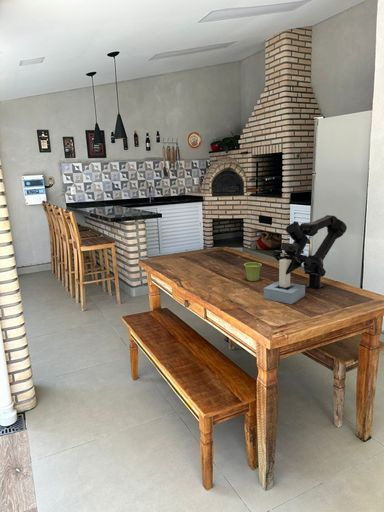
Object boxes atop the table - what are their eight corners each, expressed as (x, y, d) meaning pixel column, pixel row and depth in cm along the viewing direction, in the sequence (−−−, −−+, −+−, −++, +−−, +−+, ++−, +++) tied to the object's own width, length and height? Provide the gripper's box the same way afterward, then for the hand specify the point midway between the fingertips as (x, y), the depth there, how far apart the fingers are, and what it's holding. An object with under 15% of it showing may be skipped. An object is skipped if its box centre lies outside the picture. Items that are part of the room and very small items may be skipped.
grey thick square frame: (277, 290, 191) (277, 280, 190) (304, 295, 182) (305, 285, 181) (263, 298, 181) (263, 288, 180) (291, 304, 172) (291, 293, 171)
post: (284, 284, 183) (284, 258, 180) (290, 286, 180) (290, 259, 177) (279, 286, 181) (279, 260, 178) (285, 287, 178) (285, 261, 175)
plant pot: (262, 277, 214) (262, 262, 212) (260, 282, 206) (260, 266, 204) (245, 277, 217) (245, 262, 215) (243, 281, 208) (242, 266, 206)
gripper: (274, 233, 185) (259, 260, 181) (308, 237, 170) (291, 267, 166) (285, 247, 191) (270, 273, 187) (318, 252, 177) (302, 280, 173)
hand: (282, 273), depth 178 cm, fingers closed on post, 3 cm apart
